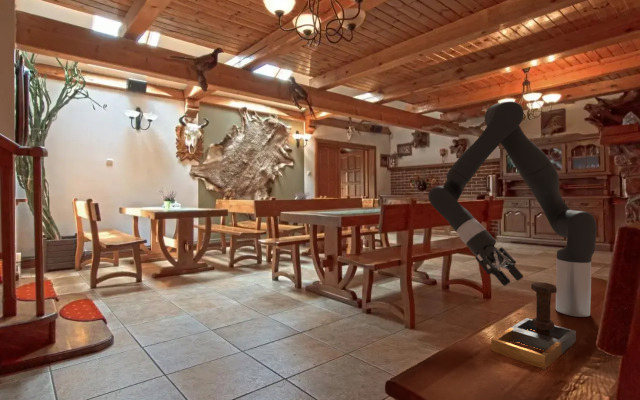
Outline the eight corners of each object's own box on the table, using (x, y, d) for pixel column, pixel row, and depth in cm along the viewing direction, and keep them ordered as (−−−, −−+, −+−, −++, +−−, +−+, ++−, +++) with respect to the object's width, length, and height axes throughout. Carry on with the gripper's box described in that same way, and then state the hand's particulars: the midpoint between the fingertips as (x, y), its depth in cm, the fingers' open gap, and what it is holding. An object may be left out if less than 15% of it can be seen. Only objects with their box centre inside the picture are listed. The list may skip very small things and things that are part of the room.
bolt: (558, 345, 92) (559, 288, 91) (536, 343, 93) (537, 287, 92) (548, 336, 98) (549, 282, 97) (528, 334, 99) (529, 281, 98)
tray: (526, 328, 103) (526, 317, 103) (575, 341, 94) (575, 330, 94) (491, 350, 89) (491, 339, 89) (544, 369, 80) (544, 356, 80)
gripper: (472, 231, 102) (513, 278, 94) (495, 227, 111) (534, 270, 103) (455, 247, 107) (493, 293, 98) (478, 242, 115) (515, 284, 107)
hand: (514, 281), depth 100 cm, fingers open, 8 cm apart
